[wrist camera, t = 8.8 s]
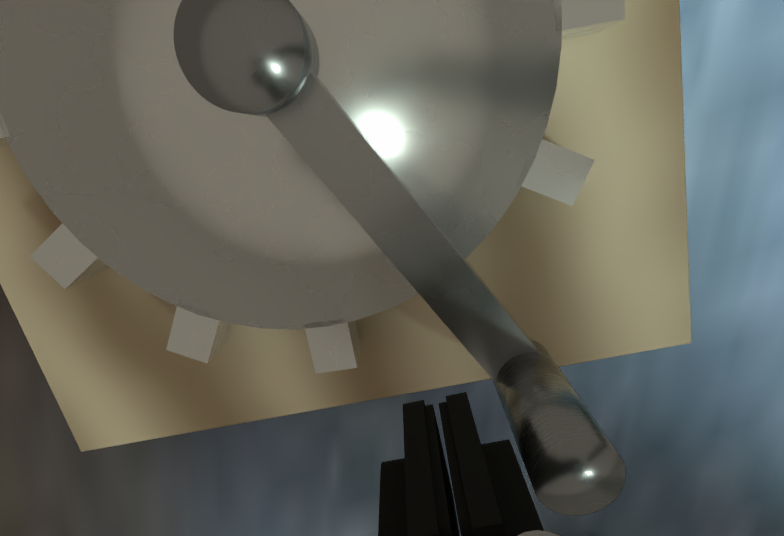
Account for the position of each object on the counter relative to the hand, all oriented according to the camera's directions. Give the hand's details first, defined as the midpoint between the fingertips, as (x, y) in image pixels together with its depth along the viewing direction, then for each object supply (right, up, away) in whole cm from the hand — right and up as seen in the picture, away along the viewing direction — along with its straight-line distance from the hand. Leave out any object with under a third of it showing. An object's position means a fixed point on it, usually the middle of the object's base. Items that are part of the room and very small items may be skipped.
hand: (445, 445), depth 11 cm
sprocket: (-4, +10, +2) cm, 11 cm away
